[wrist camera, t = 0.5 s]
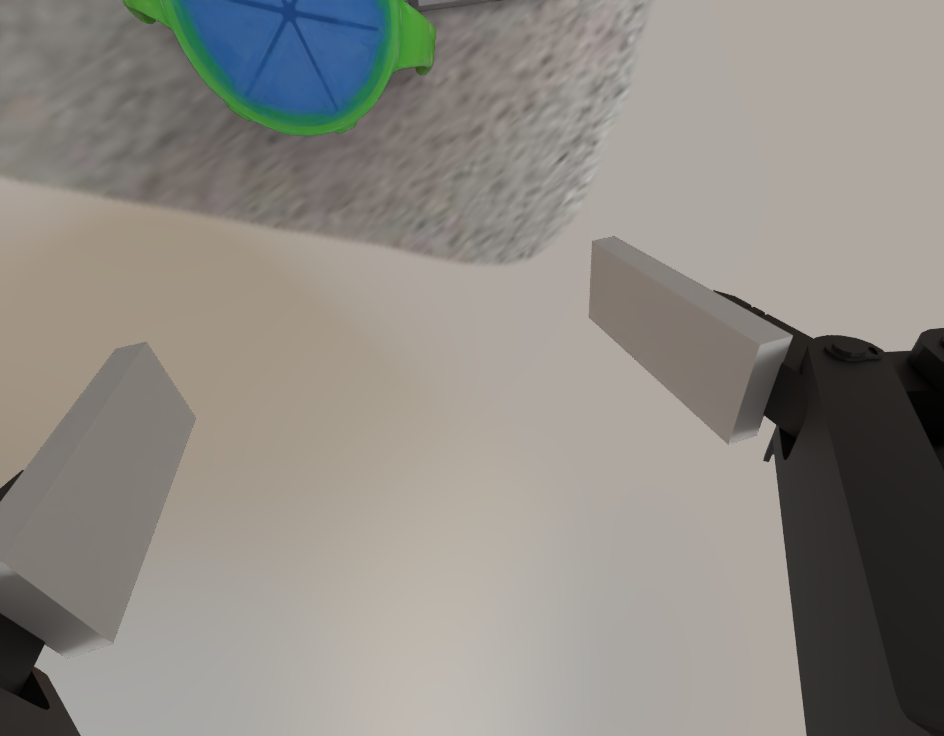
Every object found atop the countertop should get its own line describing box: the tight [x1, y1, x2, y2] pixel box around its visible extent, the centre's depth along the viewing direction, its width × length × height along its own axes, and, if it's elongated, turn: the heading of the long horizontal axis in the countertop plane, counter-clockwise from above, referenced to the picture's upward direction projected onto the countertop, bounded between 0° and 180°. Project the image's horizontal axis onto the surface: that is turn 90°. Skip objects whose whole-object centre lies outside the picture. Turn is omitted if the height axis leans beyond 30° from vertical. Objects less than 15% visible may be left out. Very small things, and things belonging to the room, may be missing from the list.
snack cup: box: [123, 0, 436, 136], centre depth 25 cm, size 16×11×10 cm
